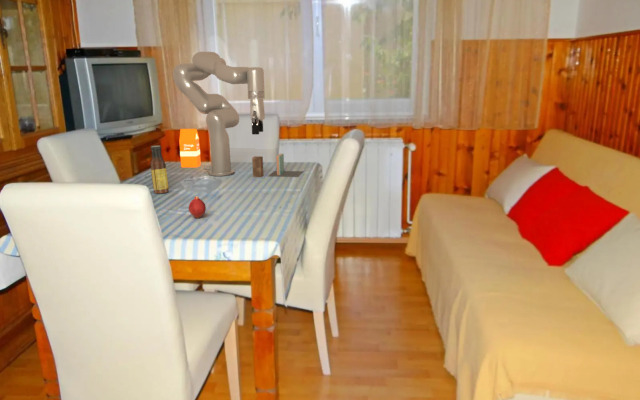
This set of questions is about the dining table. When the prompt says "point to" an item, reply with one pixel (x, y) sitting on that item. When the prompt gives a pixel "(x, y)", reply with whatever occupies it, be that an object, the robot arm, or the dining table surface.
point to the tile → (280, 164)
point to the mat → (287, 174)
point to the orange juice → (189, 148)
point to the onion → (197, 207)
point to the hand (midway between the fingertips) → (257, 133)
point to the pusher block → (257, 166)
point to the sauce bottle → (158, 171)
